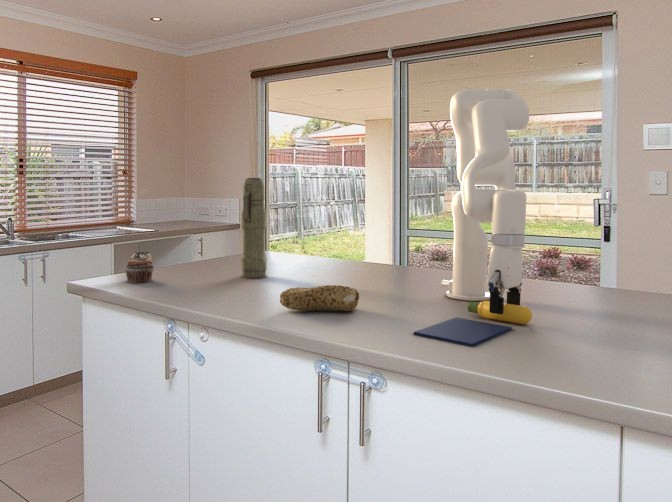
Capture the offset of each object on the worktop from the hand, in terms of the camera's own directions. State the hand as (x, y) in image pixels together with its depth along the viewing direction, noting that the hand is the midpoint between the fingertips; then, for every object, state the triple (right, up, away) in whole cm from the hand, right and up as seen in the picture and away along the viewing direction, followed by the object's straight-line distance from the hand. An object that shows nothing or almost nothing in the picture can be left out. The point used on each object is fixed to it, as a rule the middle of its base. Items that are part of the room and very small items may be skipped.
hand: (504, 310), depth 147 cm
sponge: (-45, -1, +12) cm, 46 cm away
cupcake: (-102, +4, +57) cm, 118 cm away
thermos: (-64, +5, +67) cm, 93 cm away
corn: (-1, -3, +2) cm, 3 cm away
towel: (-13, -4, -10) cm, 17 cm away
